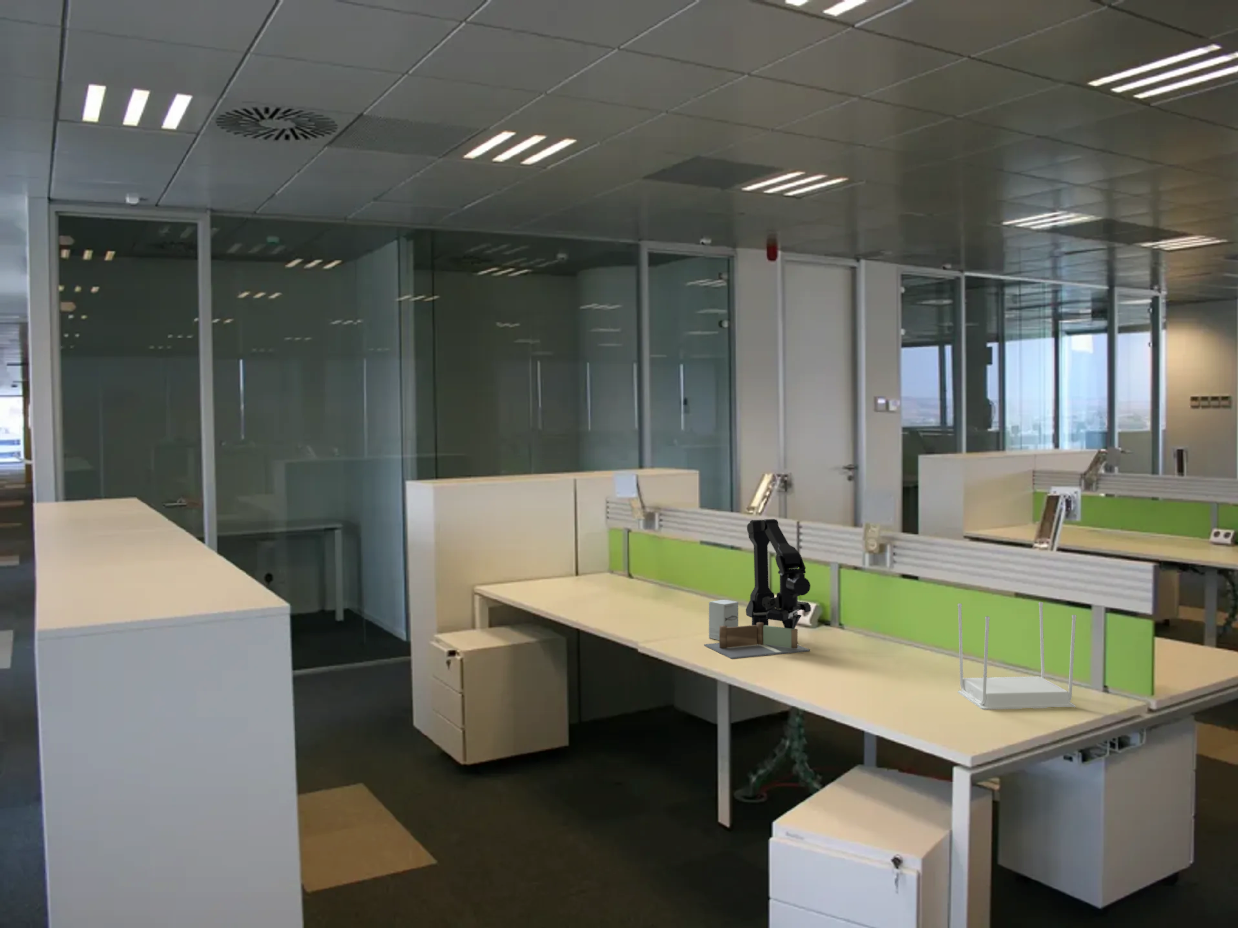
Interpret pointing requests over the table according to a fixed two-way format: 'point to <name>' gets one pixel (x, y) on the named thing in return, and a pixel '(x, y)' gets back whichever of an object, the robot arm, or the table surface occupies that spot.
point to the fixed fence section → (741, 635)
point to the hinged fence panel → (780, 636)
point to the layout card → (754, 650)
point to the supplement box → (722, 616)
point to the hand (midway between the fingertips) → (789, 636)
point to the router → (1015, 681)
